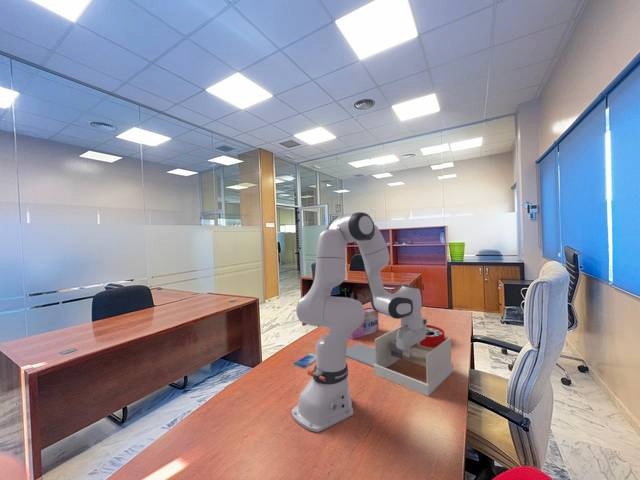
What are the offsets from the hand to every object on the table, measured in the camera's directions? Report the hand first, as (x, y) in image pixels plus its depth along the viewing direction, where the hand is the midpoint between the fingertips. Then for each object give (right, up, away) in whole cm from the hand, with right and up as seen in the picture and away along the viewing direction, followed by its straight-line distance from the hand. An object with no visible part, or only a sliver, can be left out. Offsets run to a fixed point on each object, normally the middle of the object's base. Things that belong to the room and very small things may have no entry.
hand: (412, 354), depth 116 cm
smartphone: (-46, -10, +15) cm, 50 cm away
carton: (+1, -8, 0) cm, 8 cm away
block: (0, -2, 0) cm, 2 cm away
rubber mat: (-17, -9, +18) cm, 26 cm away
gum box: (-14, -9, +49) cm, 52 cm away
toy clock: (+20, -8, +36) cm, 42 cm away
